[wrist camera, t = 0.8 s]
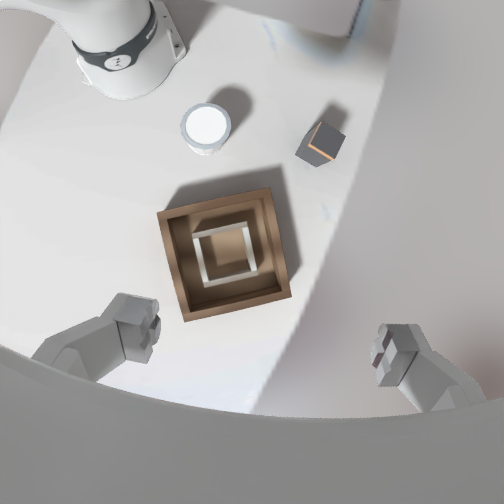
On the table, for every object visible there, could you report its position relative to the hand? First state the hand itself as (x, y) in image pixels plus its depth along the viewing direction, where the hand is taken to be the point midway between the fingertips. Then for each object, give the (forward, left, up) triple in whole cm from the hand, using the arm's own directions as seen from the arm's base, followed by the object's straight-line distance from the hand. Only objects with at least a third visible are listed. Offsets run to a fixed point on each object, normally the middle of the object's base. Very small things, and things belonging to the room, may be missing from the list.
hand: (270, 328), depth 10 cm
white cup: (-16, 0, -37) cm, 40 cm away
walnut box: (+2, -1, -37) cm, 37 cm away
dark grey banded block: (-11, +16, -37) cm, 42 cm away
